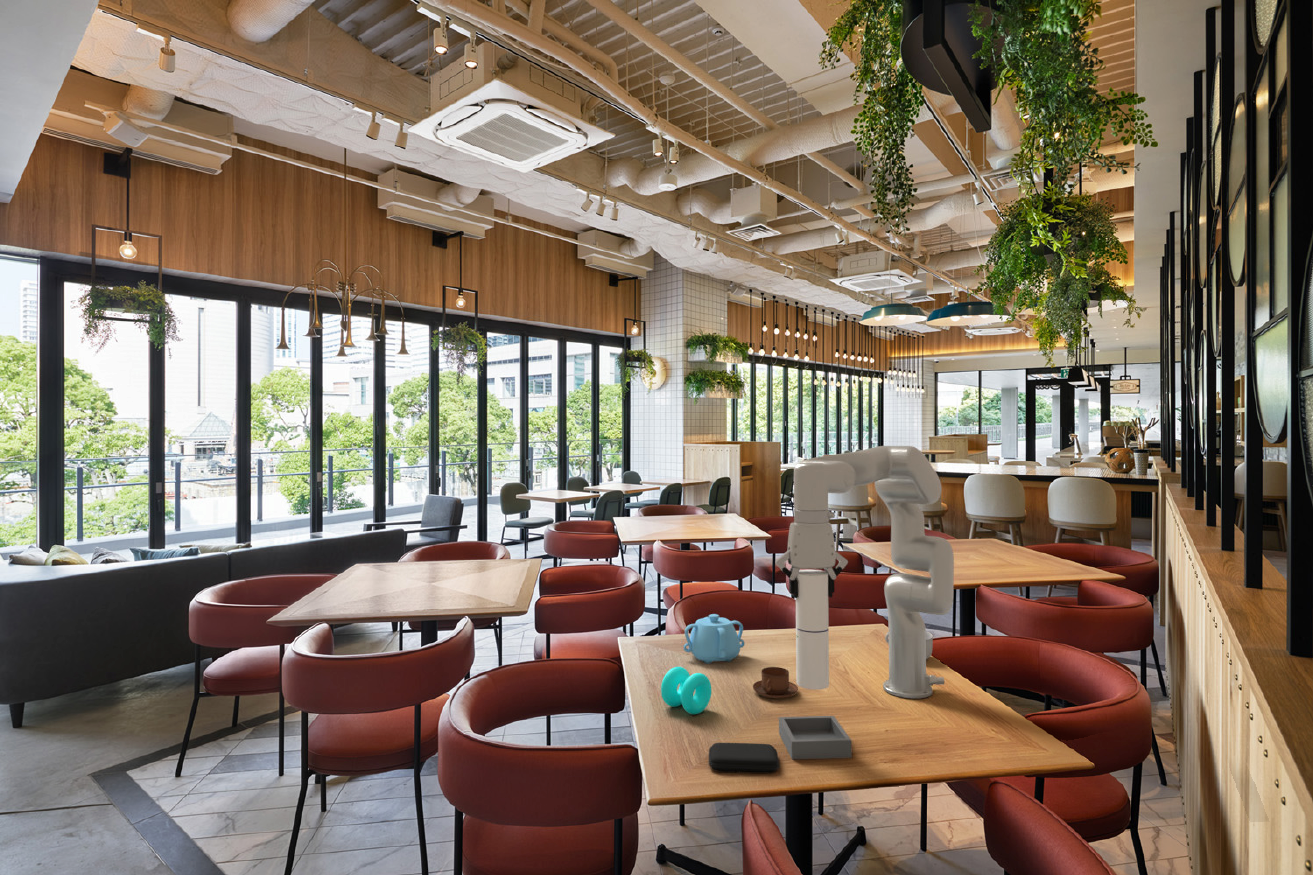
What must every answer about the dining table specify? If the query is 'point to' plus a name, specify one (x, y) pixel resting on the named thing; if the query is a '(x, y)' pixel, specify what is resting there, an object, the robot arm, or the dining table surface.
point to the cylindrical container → (812, 630)
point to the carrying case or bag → (743, 758)
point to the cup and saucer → (775, 684)
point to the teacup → (928, 643)
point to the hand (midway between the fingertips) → (811, 595)
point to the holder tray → (814, 737)
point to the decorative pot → (714, 639)
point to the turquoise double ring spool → (686, 690)
